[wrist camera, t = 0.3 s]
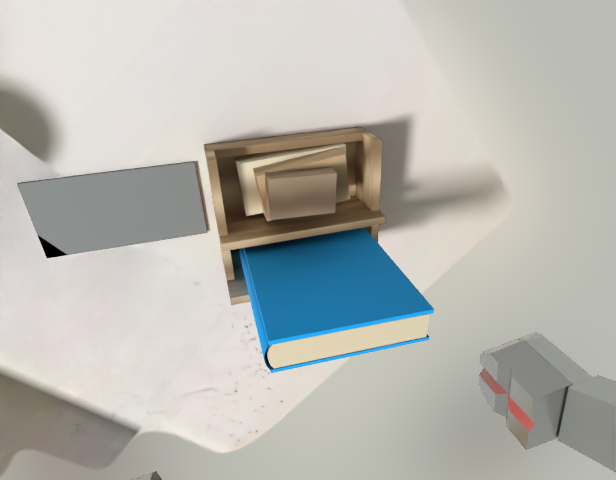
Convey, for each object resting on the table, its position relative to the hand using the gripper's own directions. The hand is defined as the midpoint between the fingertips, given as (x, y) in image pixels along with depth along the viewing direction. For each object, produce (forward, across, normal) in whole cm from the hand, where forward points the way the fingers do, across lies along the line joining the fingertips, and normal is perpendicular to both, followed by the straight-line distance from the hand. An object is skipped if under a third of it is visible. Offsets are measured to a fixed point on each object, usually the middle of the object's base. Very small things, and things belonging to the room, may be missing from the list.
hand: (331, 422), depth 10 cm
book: (+47, -7, +19) cm, 51 cm away
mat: (+46, +14, +10) cm, 50 cm away
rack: (+47, -7, +14) cm, 49 cm away
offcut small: (+40, -7, +10) cm, 42 cm away
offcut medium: (+42, -8, +10) cm, 45 cm away
